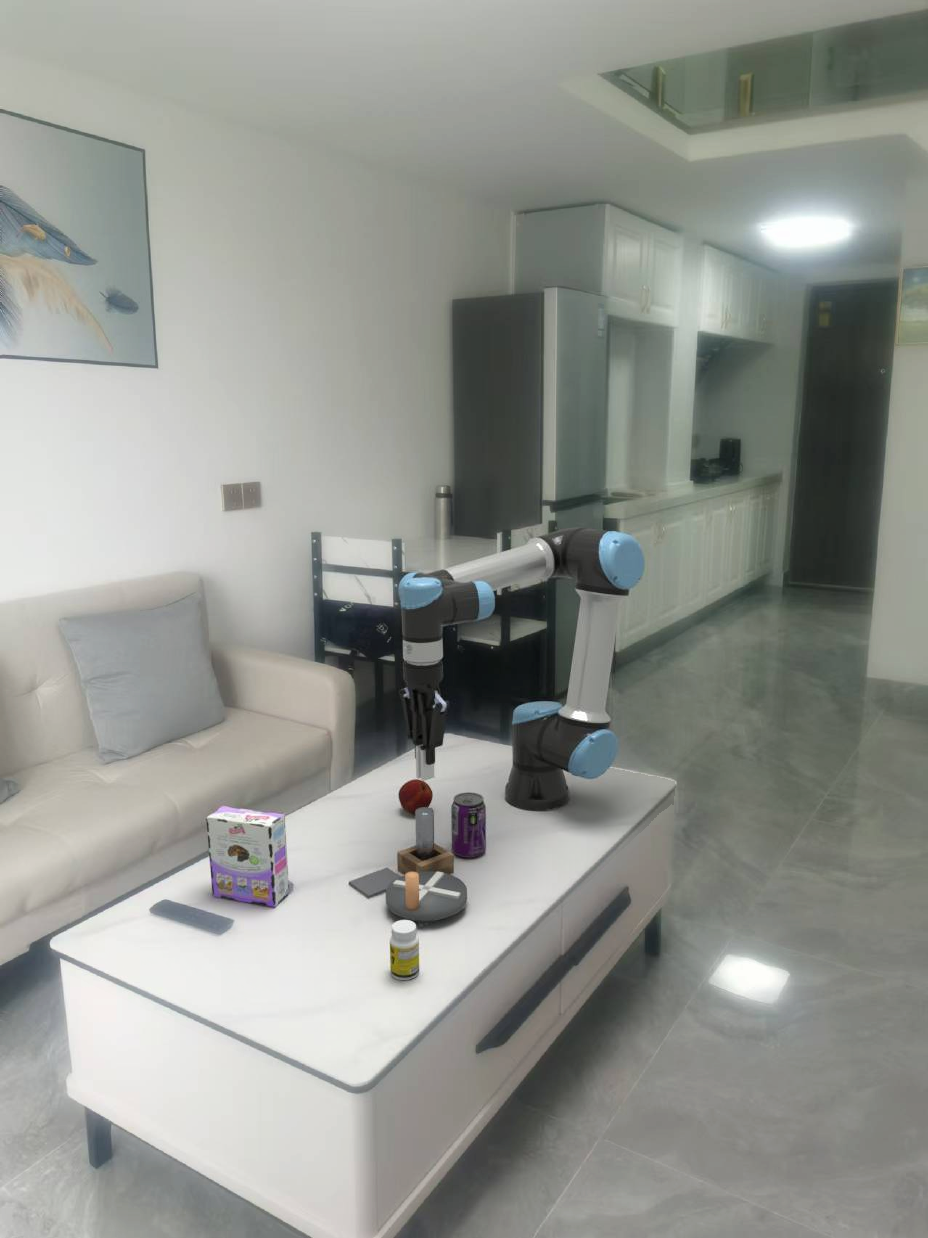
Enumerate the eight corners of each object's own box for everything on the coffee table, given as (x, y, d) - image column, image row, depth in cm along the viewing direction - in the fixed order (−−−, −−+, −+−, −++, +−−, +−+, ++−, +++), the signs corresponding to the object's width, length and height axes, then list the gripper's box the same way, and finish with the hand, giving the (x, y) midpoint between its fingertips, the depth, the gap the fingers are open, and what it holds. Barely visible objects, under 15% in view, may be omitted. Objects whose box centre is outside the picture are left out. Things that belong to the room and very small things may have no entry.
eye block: (429, 858, 190) (429, 840, 189) (453, 873, 184) (453, 854, 183) (397, 870, 185) (397, 852, 184) (421, 885, 179) (421, 866, 178)
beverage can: (482, 861, 188) (482, 806, 186) (448, 858, 190) (447, 804, 187) (488, 846, 195) (488, 792, 192) (455, 843, 196) (455, 790, 194)
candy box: (290, 893, 176) (286, 813, 172) (274, 909, 171) (270, 826, 167) (228, 882, 181) (222, 803, 177) (210, 897, 175) (204, 816, 171)
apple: (419, 822, 206) (419, 788, 205) (391, 814, 210) (390, 781, 209) (438, 810, 213) (437, 777, 211) (410, 803, 217) (409, 771, 215)
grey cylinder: (427, 865, 187) (426, 805, 184) (438, 872, 184) (437, 811, 181) (412, 871, 184) (411, 810, 182) (423, 878, 182) (422, 816, 179)
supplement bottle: (390, 964, 153) (389, 918, 151) (418, 963, 154) (418, 917, 152) (390, 982, 148) (389, 934, 147) (420, 980, 149) (419, 933, 147)
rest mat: (387, 870, 185) (386, 867, 185) (407, 883, 180) (407, 880, 179) (348, 884, 179) (348, 881, 179) (368, 898, 174) (368, 895, 174)
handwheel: (479, 887, 174) (479, 849, 173) (447, 927, 161) (447, 886, 159) (407, 873, 180) (406, 836, 178) (371, 910, 166) (370, 871, 165)
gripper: (385, 656, 177) (388, 772, 182) (429, 671, 167) (432, 793, 172) (416, 649, 182) (419, 762, 187) (461, 664, 171) (463, 783, 177)
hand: (425, 777), depth 179 cm, fingers closed
